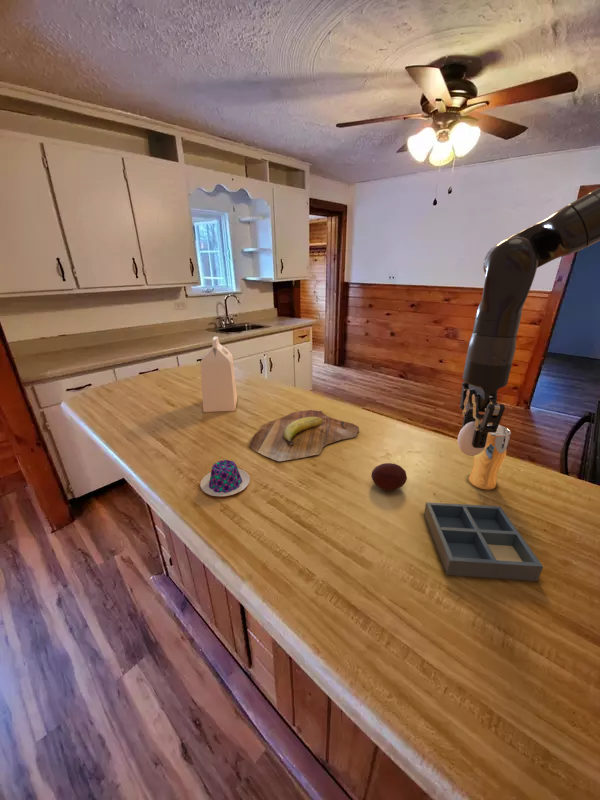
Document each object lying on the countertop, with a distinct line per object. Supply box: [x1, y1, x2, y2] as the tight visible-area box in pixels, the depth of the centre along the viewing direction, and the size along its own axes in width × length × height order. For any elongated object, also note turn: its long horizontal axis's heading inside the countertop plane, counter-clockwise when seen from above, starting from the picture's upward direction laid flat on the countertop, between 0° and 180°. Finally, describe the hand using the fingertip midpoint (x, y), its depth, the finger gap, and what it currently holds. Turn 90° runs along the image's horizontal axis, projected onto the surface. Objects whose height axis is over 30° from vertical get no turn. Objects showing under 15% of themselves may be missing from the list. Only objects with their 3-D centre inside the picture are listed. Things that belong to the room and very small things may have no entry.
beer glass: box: [468, 424, 512, 491], centre depth 82 cm, size 7×7×15 cm
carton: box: [423, 501, 544, 582], centre depth 65 cm, size 15×15×3 cm
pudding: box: [199, 459, 251, 497], centre depth 82 cm, size 12×12×5 cm
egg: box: [457, 422, 487, 457], centre depth 68 cm, size 5×5×7 cm
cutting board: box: [249, 409, 360, 462], centre depth 107 cm, size 35×27×4 cm
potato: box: [371, 462, 408, 492], centre depth 81 cm, size 7×8×6 cm
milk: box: [200, 336, 238, 413], centre depth 125 cm, size 12×12×26 cm
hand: (472, 439), depth 68 cm, fingers closed on egg, 5 cm apart
